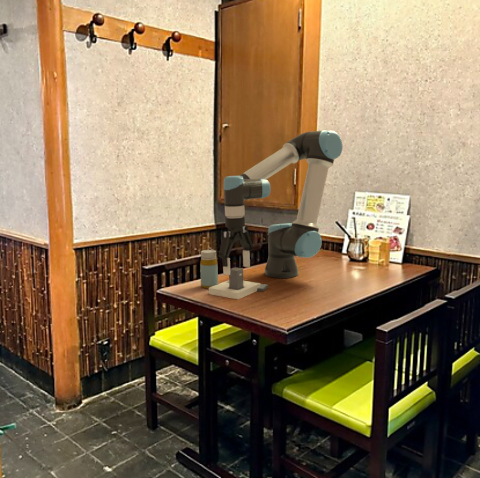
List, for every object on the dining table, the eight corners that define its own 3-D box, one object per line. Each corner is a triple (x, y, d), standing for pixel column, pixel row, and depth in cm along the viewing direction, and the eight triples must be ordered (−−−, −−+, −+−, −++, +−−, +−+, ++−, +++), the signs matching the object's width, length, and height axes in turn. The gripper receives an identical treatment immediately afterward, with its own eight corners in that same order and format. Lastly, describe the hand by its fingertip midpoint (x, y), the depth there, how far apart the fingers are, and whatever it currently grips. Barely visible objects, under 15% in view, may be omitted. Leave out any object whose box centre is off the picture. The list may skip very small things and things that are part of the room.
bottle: (210, 283, 209) (209, 248, 206) (221, 286, 204) (220, 251, 201) (197, 286, 204) (196, 251, 201) (208, 289, 199) (207, 253, 196)
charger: (235, 291, 196) (234, 267, 194) (244, 293, 193) (243, 268, 192) (229, 294, 192) (228, 269, 191) (238, 295, 190) (237, 270, 188)
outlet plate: (232, 284, 206) (232, 278, 206) (260, 289, 198) (260, 283, 198) (208, 294, 193) (208, 287, 193) (238, 299, 185) (238, 292, 185)
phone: (260, 286, 203) (260, 283, 203) (268, 286, 202) (268, 284, 202) (255, 290, 196) (255, 288, 196) (263, 291, 195) (263, 288, 195)
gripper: (244, 211, 200) (246, 262, 204) (207, 220, 180) (210, 276, 184) (260, 212, 196) (262, 264, 200) (223, 222, 175) (226, 279, 179)
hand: (237, 270), depth 192 cm, fingers open, 13 cm apart
